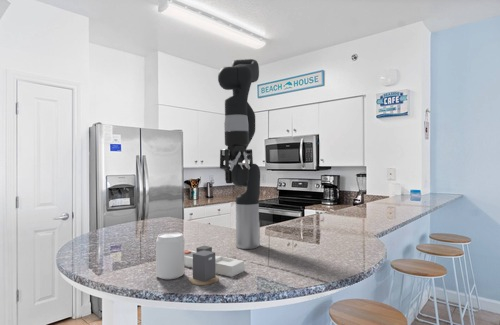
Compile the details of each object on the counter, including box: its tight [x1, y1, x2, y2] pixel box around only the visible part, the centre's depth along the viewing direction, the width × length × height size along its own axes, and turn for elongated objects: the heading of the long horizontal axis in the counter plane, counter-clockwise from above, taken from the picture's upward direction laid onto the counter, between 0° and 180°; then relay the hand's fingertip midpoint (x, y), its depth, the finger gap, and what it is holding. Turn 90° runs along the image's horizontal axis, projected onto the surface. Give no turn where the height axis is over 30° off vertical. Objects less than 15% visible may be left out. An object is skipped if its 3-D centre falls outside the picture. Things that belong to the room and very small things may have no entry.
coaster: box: [189, 274, 219, 286], centre depth 90 cm, size 8×8×1 cm
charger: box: [192, 250, 217, 282], centre depth 90 cm, size 4×5×7 cm
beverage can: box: [155, 232, 185, 280], centre depth 93 cm, size 8×8×12 cm
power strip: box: [184, 245, 245, 278], centre depth 102 cm, size 6×26×6 cm, turn 56°
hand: (237, 182), depth 100 cm, fingers open, 8 cm apart
